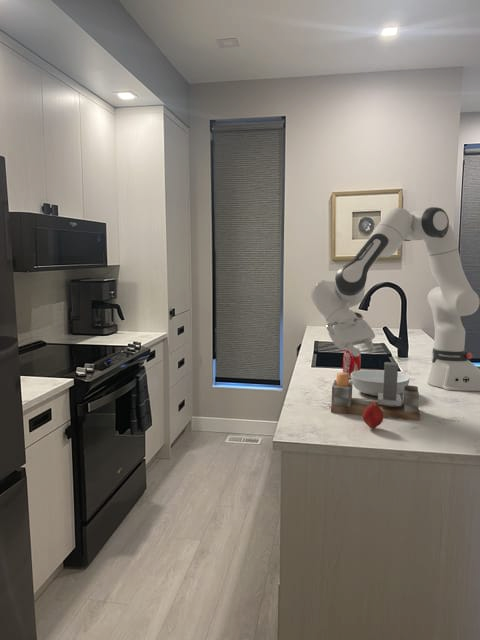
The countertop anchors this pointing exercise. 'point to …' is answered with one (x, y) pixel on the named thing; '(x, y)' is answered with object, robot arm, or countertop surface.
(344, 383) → the gauge button
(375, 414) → the onion
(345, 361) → the soda can
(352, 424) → the countertop surface
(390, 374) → the carriage
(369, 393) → the serving bowl
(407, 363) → the countertop surface
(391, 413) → the rail deck
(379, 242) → the robot arm
